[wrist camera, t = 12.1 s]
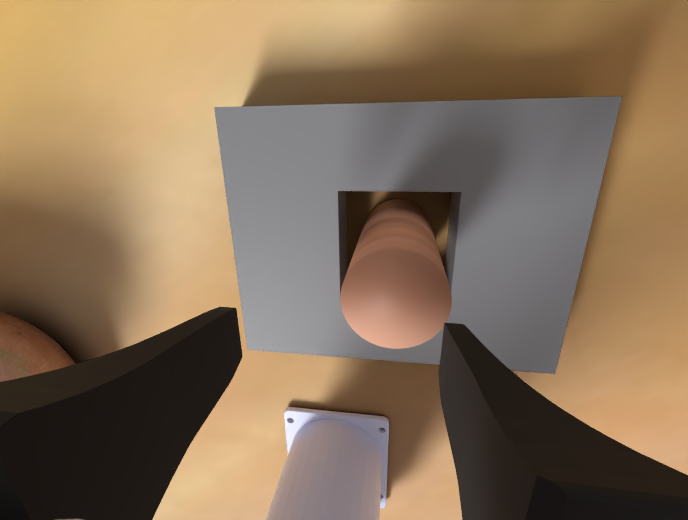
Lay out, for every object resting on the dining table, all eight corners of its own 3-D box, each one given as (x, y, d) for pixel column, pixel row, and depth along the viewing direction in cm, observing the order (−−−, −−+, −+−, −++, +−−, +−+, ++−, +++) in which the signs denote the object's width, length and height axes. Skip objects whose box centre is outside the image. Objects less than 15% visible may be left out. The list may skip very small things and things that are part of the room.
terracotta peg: (428, 264, 21) (446, 352, 13) (363, 262, 22) (341, 344, 14) (433, 199, 20) (457, 251, 12) (363, 198, 21) (338, 248, 12)
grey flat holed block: (535, 342, 22) (555, 374, 19) (264, 324, 25) (247, 349, 22) (586, 100, 17) (622, 96, 14) (240, 109, 20) (214, 107, 17)
